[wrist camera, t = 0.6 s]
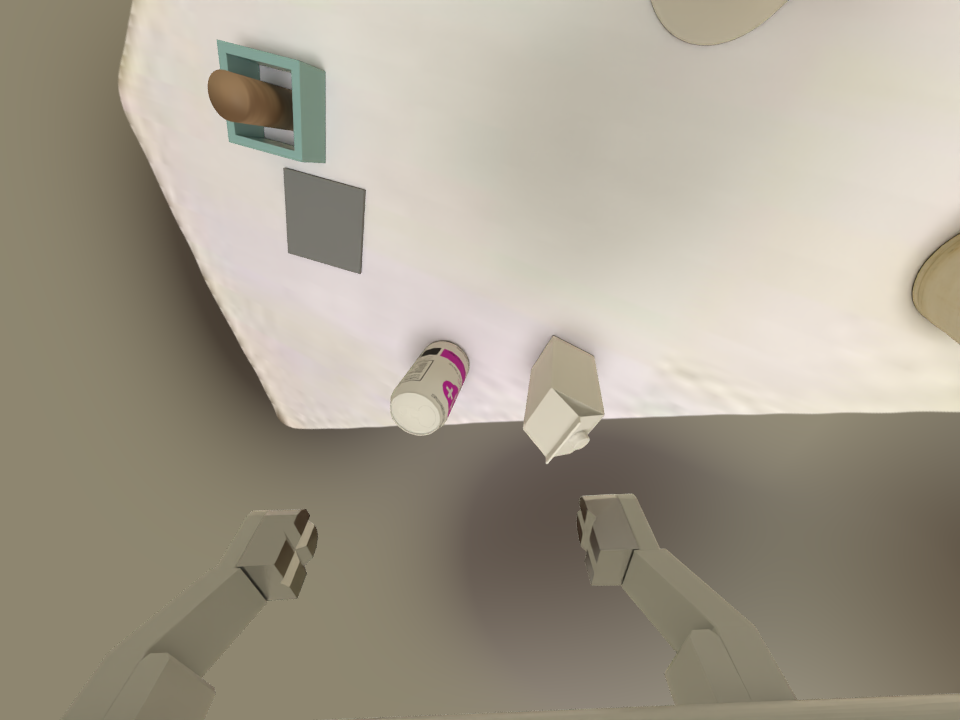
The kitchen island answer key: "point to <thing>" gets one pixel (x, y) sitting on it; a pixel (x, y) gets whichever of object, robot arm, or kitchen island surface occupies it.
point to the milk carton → (562, 399)
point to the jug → (941, 289)
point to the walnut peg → (250, 100)
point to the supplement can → (429, 389)
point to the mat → (324, 220)
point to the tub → (304, 96)
